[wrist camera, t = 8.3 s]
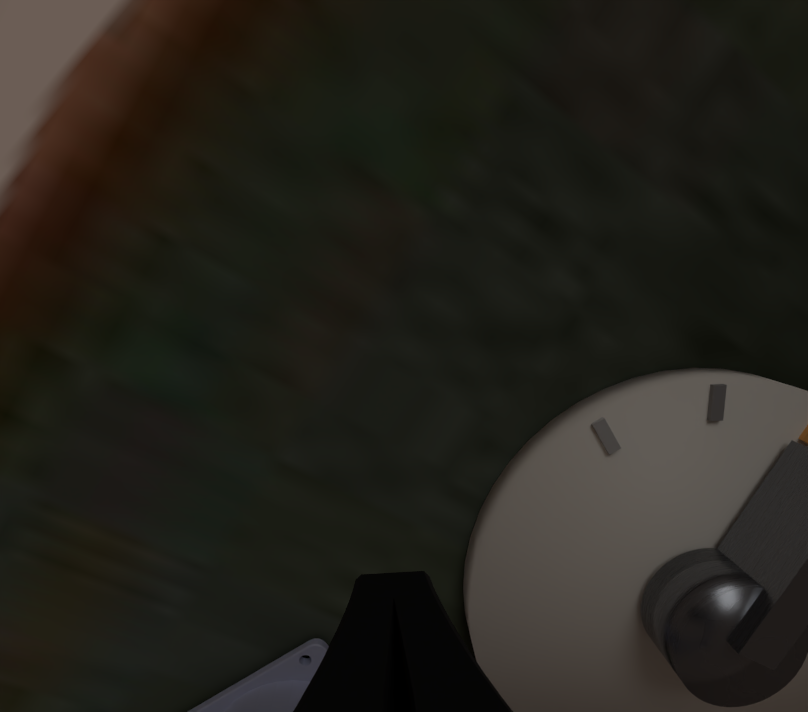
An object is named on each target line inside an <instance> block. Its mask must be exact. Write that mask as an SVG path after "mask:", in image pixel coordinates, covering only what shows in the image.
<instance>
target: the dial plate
mask: <svg viewBox="0 0 808 712" xmlns="http://www.w3.org/2000/svg"><path fill="white" fill-rule="evenodd" d="M791 440H793V441H795V442H797V443H800V444H802V445H804V446H807V447H808V391H806V390H803V389H800V388H796V387H793V386H790V385H787V384H784V383H780V382H777V381H774V380H770V379H767V378H764V377H760V376H757V375H754V374H750V373H745V372H739V371H733V370H727V369H718V368H686V369H676V370H667V371H660V372H656V373H652V374H648V375H643V376H639V377H635V378H632V379H629V380H626V381H623V382H621V383H618V384H615V385H613V386H610V387H607V388H605V389H603V390H601V391H599V392H597V393H595V394H593V395H591V396H589V397H587V398H585V399H583V400H581V401H579V402H577V403H576V404H574V405H573V406H572V407H570V408H569V409H567V410H566V411H564V412H563V413H561V414H560V415H558V416H557V417H555V418H554V419H552V420H551V421H550V422H549V423H548V424H547V425H545V426H544V427H543V428H542V429H541V430H540V431H539V432H537V433H536V434H535V435H534V436H533V437H532V438H531V439H529V440H528V441H527V443H526V444H525V445H524V446H523V447H522V448H521V449H520V450H519V452H518V453H517V454H516V455H515V456H514V457H513V458H512V459H511V460H510V462H509V463H508V464H507V466H506V467H505V469H504V470H503V472H502V473H501V474H500V476H499V477H498V479H497V480H496V482H495V483H494V485H493V486H492V488H491V490H490V492H489V494H488V496H487V498H486V499H485V501H484V503H483V505H482V507H481V509H480V511H479V514H478V517H477V519H476V522H475V525H474V528H473V530H472V533H471V536H470V540H469V545H468V550H467V554H466V559H465V566H464V580H463V595H464V608H465V616H466V620H467V624H468V629H469V633H470V637H471V641H472V645H473V649H474V653H475V657H476V661H477V663H478V664H479V666H480V667H481V669H482V670H483V672H484V673H485V675H486V676H487V677H488V679H489V680H490V682H491V683H492V684H493V686H494V687H495V688H496V690H497V691H498V693H499V694H500V695H501V697H502V698H503V699H504V701H505V702H506V703H507V705H508V706H509V707H510V708H511V710H512V711H513V712H808V654H807V656H806V659H805V661H804V663H803V665H802V667H801V668H800V670H799V671H798V673H797V674H796V676H795V677H794V678H793V679H792V680H791V681H790V682H789V683H788V684H787V685H786V686H785V687H784V688H783V689H781V690H780V691H779V692H777V693H776V694H774V695H772V696H771V697H769V698H767V699H765V700H763V701H760V702H757V703H755V704H751V705H747V706H741V707H720V706H716V705H712V704H709V703H706V702H704V701H702V700H700V699H698V698H697V697H696V696H694V695H693V694H692V693H691V692H690V691H689V690H688V689H687V688H686V686H685V685H684V684H683V682H682V681H681V680H680V678H679V677H678V675H677V674H676V673H675V671H674V670H673V669H672V667H671V666H670V664H669V663H668V662H667V660H666V659H665V658H664V656H663V655H662V653H661V652H660V651H659V649H658V648H657V647H656V645H655V644H654V643H653V641H652V640H651V638H650V637H649V636H648V634H647V633H646V631H645V629H644V626H643V623H642V618H641V602H642V598H643V594H644V592H645V589H646V587H647V585H648V583H649V582H650V580H651V578H652V577H653V576H654V575H655V573H656V572H657V571H658V570H659V569H660V568H661V567H662V566H663V565H665V564H666V563H667V562H668V561H670V560H671V559H673V558H675V557H677V556H679V555H681V554H683V553H685V552H688V551H691V550H696V549H702V548H718V546H719V545H720V543H721V542H722V540H723V539H724V538H725V536H726V535H727V533H728V532H729V530H730V529H731V527H732V526H733V525H734V523H735V522H736V520H737V519H738V517H739V516H740V514H741V513H742V511H743V510H744V509H745V507H746V506H747V504H748V503H749V501H750V500H751V498H752V497H753V495H754V494H755V493H756V491H757V490H758V488H759V487H760V485H761V484H762V482H763V481H764V479H765V478H766V477H767V475H768V474H769V472H770V471H771V469H772V468H773V466H774V465H775V464H776V462H777V461H778V459H779V458H780V456H781V455H782V453H783V452H784V450H785V449H786V448H787V446H788V445H789V443H790V442H791Z"/></svg>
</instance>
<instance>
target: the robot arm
mask: <svg viewBox="0 0 808 712" xmlns="http://www.w3.org/2000/svg"><path fill="white" fill-rule="evenodd" d="M303 655H308V656H309V657H310V658H303V657H302V656H303ZM188 712H513V711H512V710H511V708H510V707H509V706H508V705H507V703H506V702H505V701H504V699H503V698H502V697H501V695H500V694H499V693H498V691H497V690H496V688H495V687H494V686H493V684H492V683H491V682H490V680H489V679H488V677H487V676H486V675H485V673H484V672H483V670H482V669H481V667H480V666H479V664H478V663H477V662H476V660H475V659H474V657H473V656H472V654H471V652H470V651H469V649H468V648H467V646H466V645H465V643H464V641H463V640H462V638H461V637H460V635H459V634H458V632H457V630H456V629H455V627H454V625H453V624H452V622H451V620H450V618H449V616H448V615H447V613H446V611H445V609H444V607H443V606H442V604H441V602H440V600H439V598H438V596H437V594H436V592H435V589H434V587H433V585H432V582H431V580H430V577H429V576H428V575H427V574H426V573H425V572H424V571H417V572H399V573H382V574H364V575H360V576H359V577H358V578H357V579H356V581H355V585H354V589H353V592H352V595H351V598H350V600H349V603H348V606H347V608H346V611H345V613H344V615H343V618H342V620H341V622H340V624H339V627H338V629H337V631H336V633H335V635H334V637H333V639H332V641H331V643H330V645H329V646H328V645H327V643H326V642H324V641H323V640H321V639H319V638H318V639H311V640H309V641H307V642H306V643H304V644H302V645H301V646H299V647H297V648H295V649H294V650H292V651H290V652H289V653H287V654H285V655H283V656H282V657H280V658H278V659H277V660H275V661H273V662H271V663H270V664H268V665H266V666H265V667H263V668H261V669H260V670H258V671H256V672H254V673H253V674H251V675H249V676H248V677H246V678H244V679H242V680H241V681H239V682H237V683H236V684H234V685H232V686H230V687H229V688H227V689H225V690H224V691H222V692H220V693H219V694H217V695H215V696H213V697H212V698H210V699H208V700H207V701H205V702H203V703H201V704H200V705H198V706H196V707H195V708H193V709H191V710H190V711H188Z"/></svg>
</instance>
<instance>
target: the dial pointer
mask: <svg viewBox="0 0 808 712" xmlns="http://www.w3.org/2000/svg"><path fill="white" fill-rule="evenodd" d="M641 618H642V623H643V626H644V629H645V631H646V633H647V634H648V636H649V637H650V638H651V640H652V641H653V643H654V644H655V645H656V647H657V648H658V649H659V651H660V652H661V653H662V655H663V656H664V658H665V659H666V660H667V662H668V663H669V664H670V666H671V667H672V669H673V670H674V671H675V673H676V674H677V675H678V677H679V678H680V680H681V681H682V682H683V684H684V685H685V686H686V688H687V689H688V690H689V691H690V692H691V693H692V694H693V695H694V696H696V697H697V698H698V699H700V700H702V701H704V702H706V703H709V704H712V705H716V706H720V707H741V706H747V705H751V704H755V703H757V702H760V701H763V700H765V699H767V698H769V697H771V696H772V695H774V694H776V693H777V692H779V691H780V690H781V689H783V688H784V687H785V686H786V685H787V684H788V683H789V682H790V681H791V680H792V679H793V678H794V677H795V676H796V674H797V673H798V671H799V670H800V668H801V667H802V665H803V663H804V661H805V659H806V656H807V654H808V447H807V446H804V445H802V444H800V443H797V442H795V441H793V440H791V442H790V443H789V445H788V446H787V448H786V449H785V450H784V452H783V453H782V455H781V456H780V458H779V459H778V461H777V462H776V464H775V465H774V466H773V468H772V469H771V471H770V472H769V474H768V475H767V477H766V478H765V479H764V481H763V482H762V484H761V485H760V487H759V488H758V490H757V491H756V493H755V494H754V495H753V497H752V498H751V500H750V501H749V503H748V504H747V506H746V507H745V509H744V510H743V511H742V513H741V514H740V516H739V517H738V519H737V520H736V522H735V523H734V525H733V526H732V527H731V529H730V530H729V532H728V533H727V535H726V536H725V538H724V539H723V540H722V542H721V543H720V545H719V546H718V548H702V549H696V550H691V551H688V552H685V553H683V554H681V555H679V556H677V557H675V558H673V559H671V560H670V561H668V562H667V563H666V564H665V565H663V566H662V567H661V568H660V569H659V570H658V571H657V572H656V573H655V575H654V576H653V577H652V578H651V580H650V582H649V583H648V585H647V587H646V589H645V592H644V594H643V598H642V602H641Z"/></svg>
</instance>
